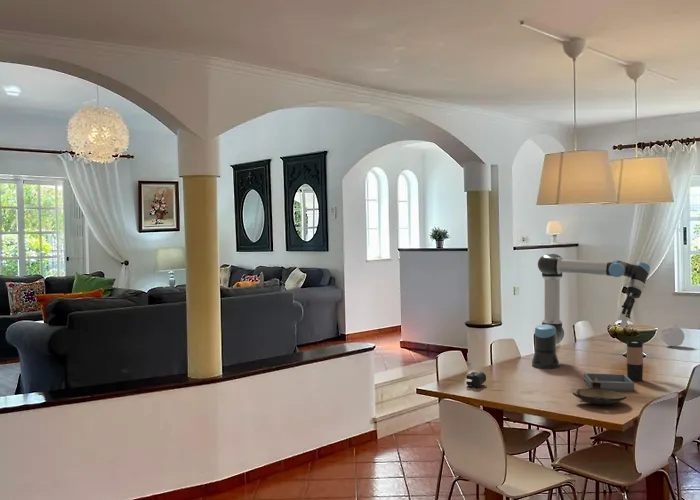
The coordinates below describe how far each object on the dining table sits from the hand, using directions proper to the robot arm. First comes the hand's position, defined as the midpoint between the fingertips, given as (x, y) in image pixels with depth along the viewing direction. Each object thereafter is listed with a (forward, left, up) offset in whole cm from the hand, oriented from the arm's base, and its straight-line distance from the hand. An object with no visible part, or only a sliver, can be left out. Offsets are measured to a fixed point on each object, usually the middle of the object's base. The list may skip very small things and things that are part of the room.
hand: (621, 323), depth 348 cm
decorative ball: (+50, +93, -28) cm, 109 cm away
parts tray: (-13, -30, -27) cm, 43 cm away
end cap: (-78, -40, -28) cm, 92 cm away
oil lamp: (-22, -63, -28) cm, 72 cm away
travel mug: (+3, -14, -28) cm, 31 cm away
